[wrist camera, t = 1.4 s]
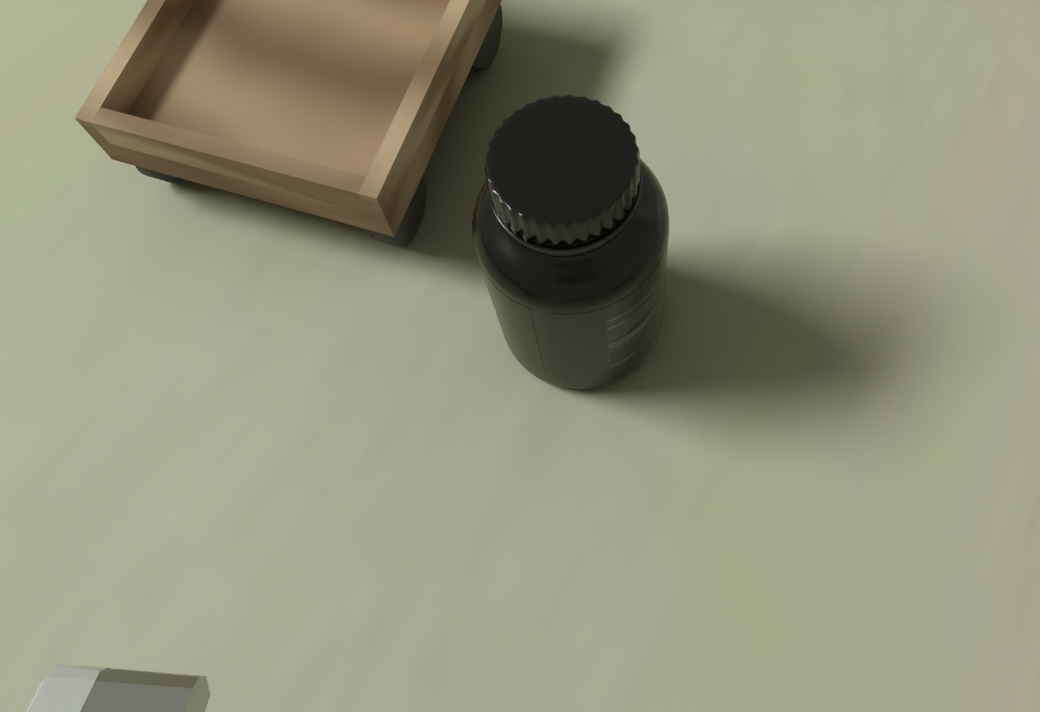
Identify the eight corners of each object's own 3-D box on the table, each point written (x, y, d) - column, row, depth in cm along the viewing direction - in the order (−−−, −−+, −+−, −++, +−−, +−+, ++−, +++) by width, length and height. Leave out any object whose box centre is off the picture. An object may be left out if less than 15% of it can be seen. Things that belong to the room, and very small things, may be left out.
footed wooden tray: (268, -25, 47) (223, -122, 42) (515, 27, 44) (501, -69, 39) (144, 193, 43) (74, 118, 37) (409, 269, 40) (376, 198, 34)
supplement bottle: (637, 232, 39) (645, 44, 28) (680, 372, 37) (707, 225, 26) (486, 268, 40) (435, 95, 28) (519, 411, 37) (476, 281, 26)
